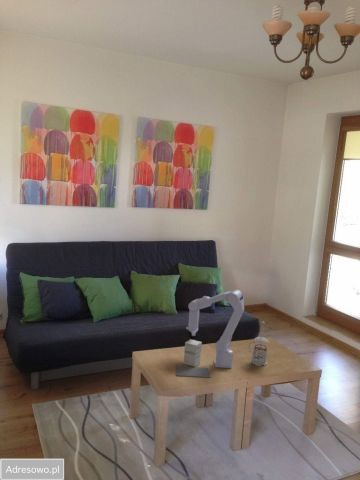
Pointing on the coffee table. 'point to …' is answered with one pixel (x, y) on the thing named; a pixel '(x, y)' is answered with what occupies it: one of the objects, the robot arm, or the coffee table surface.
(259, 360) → the french press
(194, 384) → the coffee table surface
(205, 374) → the mat
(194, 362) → the supplement box
